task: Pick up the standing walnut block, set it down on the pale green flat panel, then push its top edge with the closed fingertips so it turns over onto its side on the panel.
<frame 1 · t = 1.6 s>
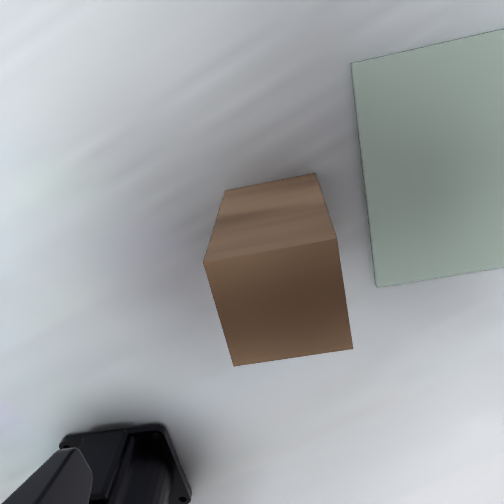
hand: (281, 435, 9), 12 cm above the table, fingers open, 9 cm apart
walnut block: (278, 223, 20), on the table
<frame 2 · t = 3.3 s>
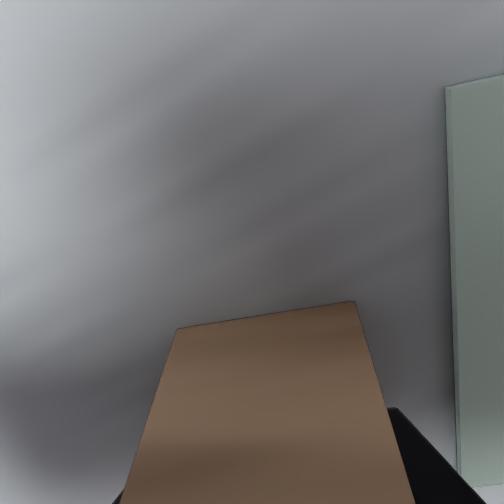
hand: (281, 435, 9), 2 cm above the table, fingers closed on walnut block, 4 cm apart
walnut block: (280, 383, 11), on the table, touching gripper
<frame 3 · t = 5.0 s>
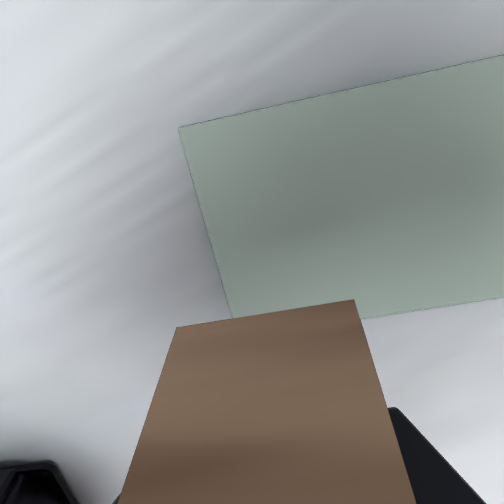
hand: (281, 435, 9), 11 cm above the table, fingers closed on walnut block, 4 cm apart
pale green flat panel: (374, 212, 18), on the table
walnut block: (280, 382, 11), point 9 cm above the table, touching gripper
when the fingers open (2 cm above the table, at t = 6.7 s): walnut block stays where it is, resting on pale green flat panel.
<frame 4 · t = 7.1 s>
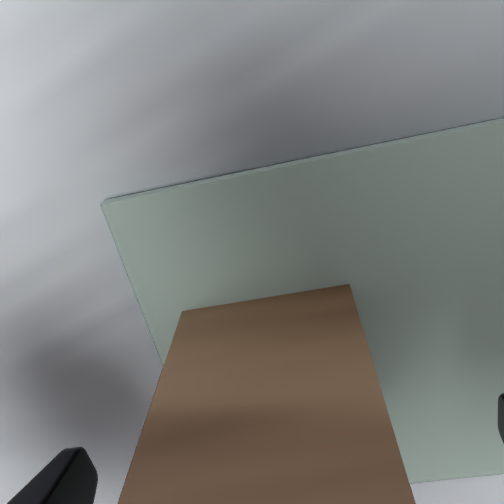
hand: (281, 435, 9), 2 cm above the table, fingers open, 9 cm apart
pale green flat panel: (440, 333, 11), on the table
walnut block: (279, 364, 11), resting on pale green flat panel
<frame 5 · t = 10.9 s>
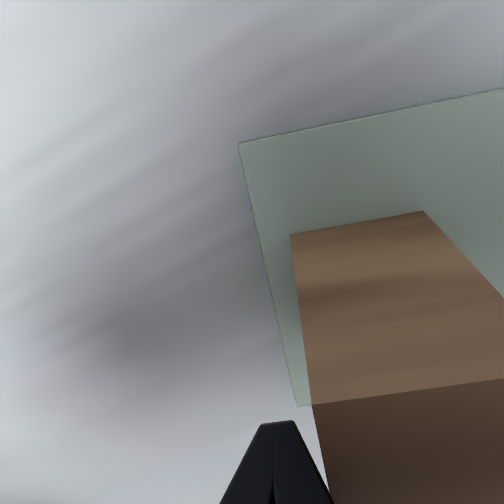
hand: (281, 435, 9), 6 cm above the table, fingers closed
pale green flat panel: (489, 254, 14), on the table
walnut block: (362, 279, 14), resting on pale green flat panel, touching gripper
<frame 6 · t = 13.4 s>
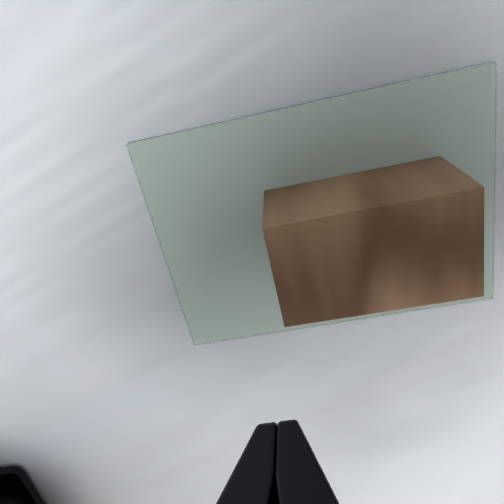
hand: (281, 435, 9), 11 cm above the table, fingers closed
pale green flat panel: (320, 223, 19), on the table
walnut block: (273, 255, 17), point 2 cm above the table, tilted 90°, touching pale green flat panel
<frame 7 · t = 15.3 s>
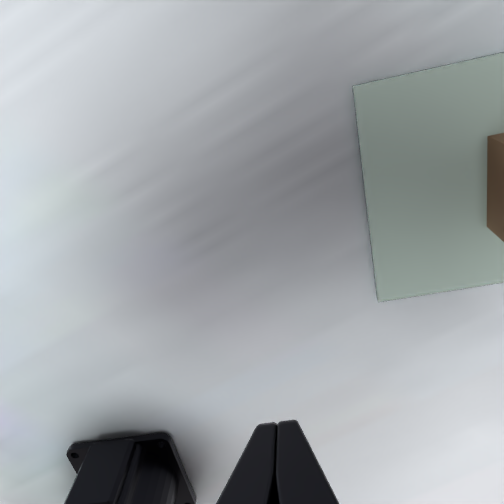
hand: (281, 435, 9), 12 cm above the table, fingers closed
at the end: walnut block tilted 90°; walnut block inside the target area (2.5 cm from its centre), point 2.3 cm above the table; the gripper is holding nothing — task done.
